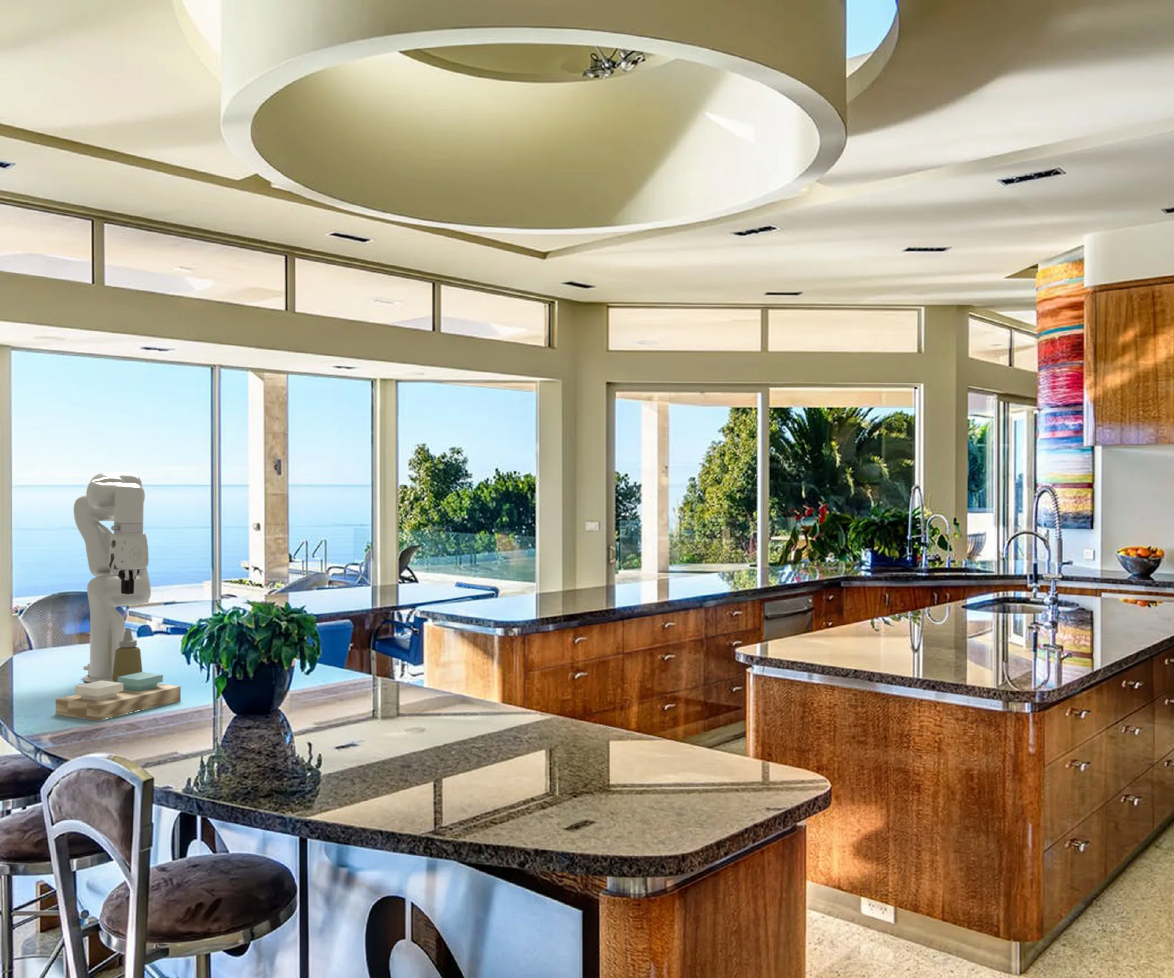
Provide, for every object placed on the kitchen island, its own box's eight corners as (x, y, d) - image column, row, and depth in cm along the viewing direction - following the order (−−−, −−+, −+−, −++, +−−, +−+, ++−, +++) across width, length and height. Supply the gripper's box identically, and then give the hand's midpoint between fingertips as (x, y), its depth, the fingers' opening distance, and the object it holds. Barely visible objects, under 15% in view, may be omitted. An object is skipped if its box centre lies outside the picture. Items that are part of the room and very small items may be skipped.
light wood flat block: (99, 721, 248) (99, 705, 248) (55, 714, 255) (55, 698, 255) (180, 700, 272) (180, 686, 272) (138, 694, 279) (138, 680, 279)
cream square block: (96, 708, 252) (96, 688, 252) (75, 704, 256) (75, 685, 255) (122, 702, 259) (123, 683, 259) (101, 698, 263) (101, 680, 263)
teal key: (138, 698, 264) (138, 679, 264) (117, 695, 267) (117, 677, 267) (162, 692, 271) (162, 674, 271) (141, 689, 275) (141, 671, 275)
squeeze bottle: (134, 693, 280) (135, 630, 280) (106, 692, 281) (107, 629, 280) (147, 687, 289) (148, 626, 288) (120, 686, 289) (121, 625, 289)
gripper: (114, 531, 269) (113, 598, 269) (159, 528, 282) (158, 591, 283) (96, 529, 272) (94, 595, 273) (141, 526, 285) (140, 589, 286)
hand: (127, 593), depth 278 cm, fingers closed
